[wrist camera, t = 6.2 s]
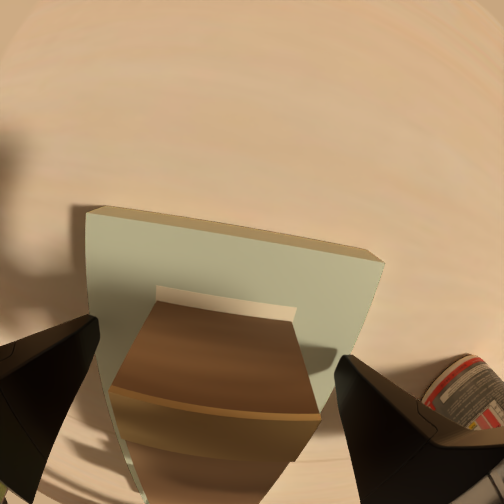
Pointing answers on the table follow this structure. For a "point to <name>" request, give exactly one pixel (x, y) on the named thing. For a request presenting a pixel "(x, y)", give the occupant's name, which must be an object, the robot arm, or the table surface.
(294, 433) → the brown rectangular block
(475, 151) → the table surface
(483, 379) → the pill bottle
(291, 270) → the tunnel deck
